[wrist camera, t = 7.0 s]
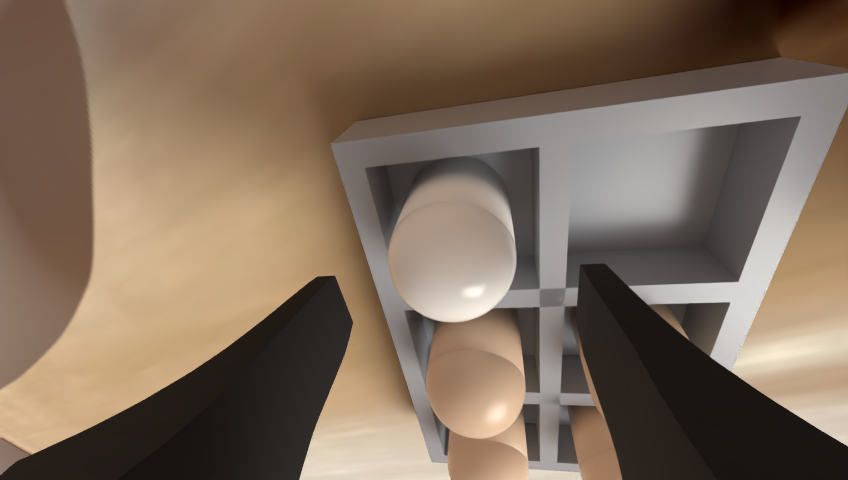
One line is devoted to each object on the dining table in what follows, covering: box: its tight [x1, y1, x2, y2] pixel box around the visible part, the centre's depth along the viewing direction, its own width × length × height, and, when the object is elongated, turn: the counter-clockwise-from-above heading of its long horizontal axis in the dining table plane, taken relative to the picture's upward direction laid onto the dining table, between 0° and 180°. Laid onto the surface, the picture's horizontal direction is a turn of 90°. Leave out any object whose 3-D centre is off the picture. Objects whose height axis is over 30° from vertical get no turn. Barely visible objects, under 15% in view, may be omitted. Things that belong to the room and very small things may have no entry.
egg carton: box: [330, 57, 848, 480], centre depth 16 cm, size 15×22×7 cm
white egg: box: [388, 156, 517, 322], centre depth 13 cm, size 4×4×6 cm
